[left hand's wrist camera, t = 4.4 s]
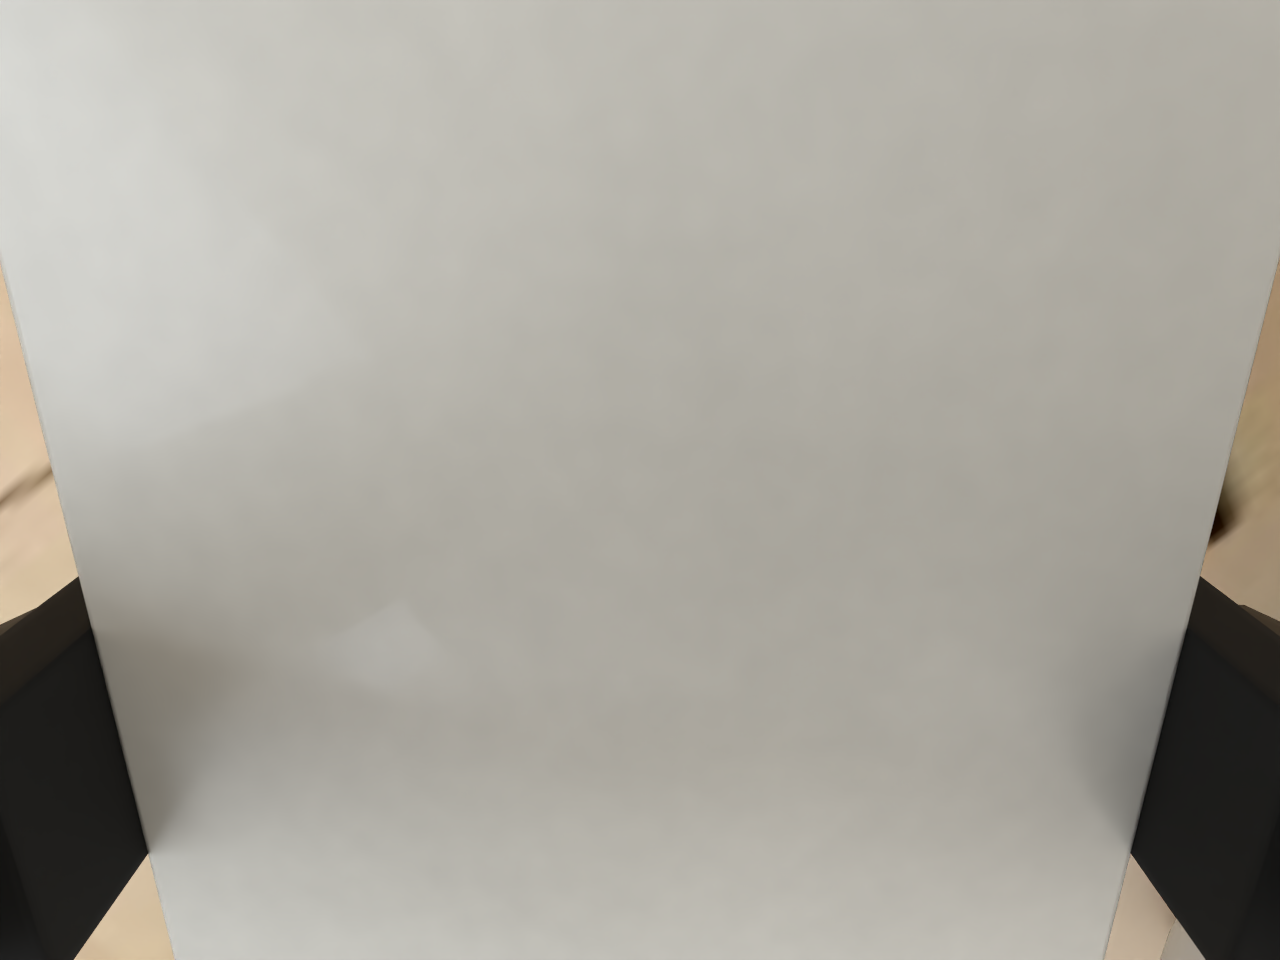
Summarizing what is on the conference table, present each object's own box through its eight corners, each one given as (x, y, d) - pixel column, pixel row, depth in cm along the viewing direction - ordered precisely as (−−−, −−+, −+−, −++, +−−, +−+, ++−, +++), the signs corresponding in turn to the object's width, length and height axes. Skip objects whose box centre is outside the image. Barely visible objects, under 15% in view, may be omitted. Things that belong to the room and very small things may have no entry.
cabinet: (327, -372, 14) (-536, -1837, 4) (950, -372, 14) (1810, -1831, 4) (418, 546, 20) (175, 975, 10) (860, 546, 20) (1103, 974, 10)
